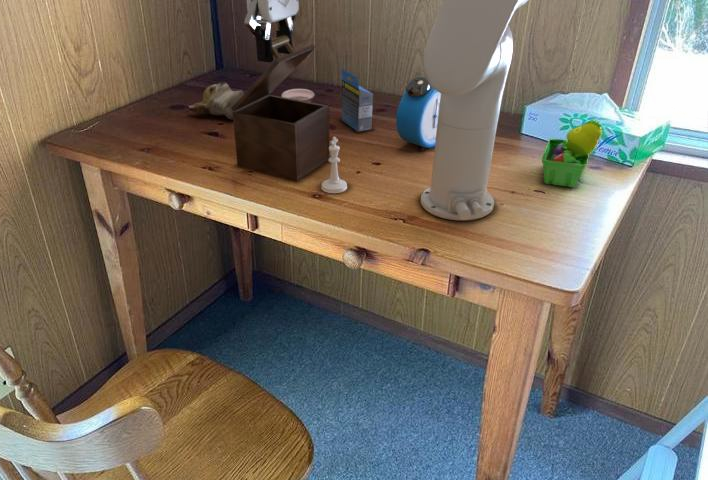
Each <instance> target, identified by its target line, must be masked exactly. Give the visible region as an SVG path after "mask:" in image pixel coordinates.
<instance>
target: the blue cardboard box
mask: <svg viewBox="0 0 708 480" xmlns="http://www.w3.org/2000/svg"><path fill="white" fill-rule="evenodd" d="M348 78H350V79H351V80H350V79H348ZM359 80H360V79H359V77H358V76H357V75H355V74H353V73H351V72H349V71H348V70H346V69H345V68H343V67H341V121H342V122H343V123H345V124H346V125H348V126H349V127H350V128H351V129H353V130H354V131H356V133H360V132H366V131H372V128H373V127H372V126H373V125H372V124H373V122H372V121H373V120H372V119H373V103H374V102H373V101H374V93H372V92H371V91H369V90H368V89H366V88H364V87H362V86H360V85H359V84H360V83H359Z"/></svg>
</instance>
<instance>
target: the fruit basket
mask: <svg viewBox="0 0 708 480" xmlns="http://www.w3.org/2000/svg"><path fill="white" fill-rule="evenodd" d="M602 135H603V129H602V124H601V122H600V121H598V120H596V119H590V120H588V121H587V122H585V123H584V124H583V125H581V126H577V127H575V128H572V129H571V130H570V131H568V133H567V134H566V139H561V138H550V139H548V141H547V143H546V146H545V149H544V152H543V155H542V157H541V162H542V167H543V181H544V182H543V183H544V184H546V185H547V184H549V185H550V184H551V185H554V186H560V187H569V188H574V187H575V186H576V183H577V182H578V180H579V178H580V176H581V175H582V172H583V171H584V170H585V168H586V167H587V165H588V161H589V157H590V155H591V154H592V153H593V152H594V151H595V150H596V148H597V146H598V144H599V141H600V138H601V137H602Z"/></svg>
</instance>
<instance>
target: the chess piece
mask: <svg viewBox="0 0 708 480" xmlns="http://www.w3.org/2000/svg"><path fill="white" fill-rule="evenodd" d="M338 142H339V139H338V138H337V137H336V136H332V140H331V141H330V147H329V151H330V158H329V160H328V161H327V162H329V163H331V164H330V166H331V167H330V175H329V177H328V178H327V179H325V180H324V181H322V183H321V187H320V188H321V190H322V191H323V192H325V193H329V194H341V193H343V192H345V191H346V190H347V189H348V183H347V182H346V181H345V180H344V179H341V178H340V177H339V171H338V163H339V162H340V161H341V158H340V157H339V156H338V155H339V152H340V149H341V148H340V146H339V145H337V143H338Z"/></svg>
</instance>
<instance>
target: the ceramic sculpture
mask: <svg viewBox="0 0 708 480" xmlns="http://www.w3.org/2000/svg"><path fill="white" fill-rule="evenodd" d="M244 94H245V93H244V92H243V90H242V89H240V90H237V91H236V90H235V91H234V90H232V89H231V88H230V85H229V84H228V83H227V82H225V81H222V80H217V81H216V83H214V84H211V85H208V86H207V87H206V88H205V89H204V91H203V94H202V101H200V102H195V103H193V104H190V105H189V104H188V105H185V107H186V108H187V109H188V110H189V111H191V112H193V113H196V114H198V115H205V114H206V115H207V114H210V115H212V116H225V117H226V118H227V119H228V120H233V112H234V111H233V110H232V109H231V108H232V107H233V105H234V104H235V103H236V102H237V101H238V100H239V99H240V98H241V97H242V96H243V95H244ZM239 109H240V108H239ZM237 110H238V109H237ZM235 111H236V110H235Z"/></svg>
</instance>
